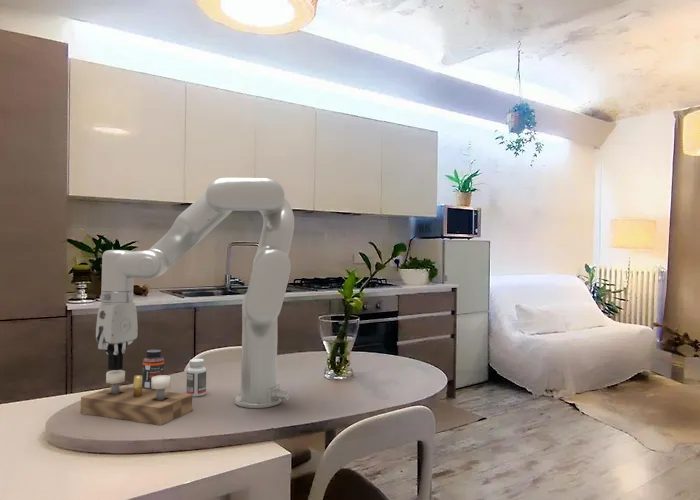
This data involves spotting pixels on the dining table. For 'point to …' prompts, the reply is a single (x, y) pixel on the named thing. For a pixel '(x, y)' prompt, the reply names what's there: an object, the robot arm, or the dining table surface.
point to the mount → (137, 405)
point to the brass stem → (137, 386)
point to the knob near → (160, 386)
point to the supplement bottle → (152, 367)
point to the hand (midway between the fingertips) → (115, 369)
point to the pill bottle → (196, 378)
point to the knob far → (115, 380)
